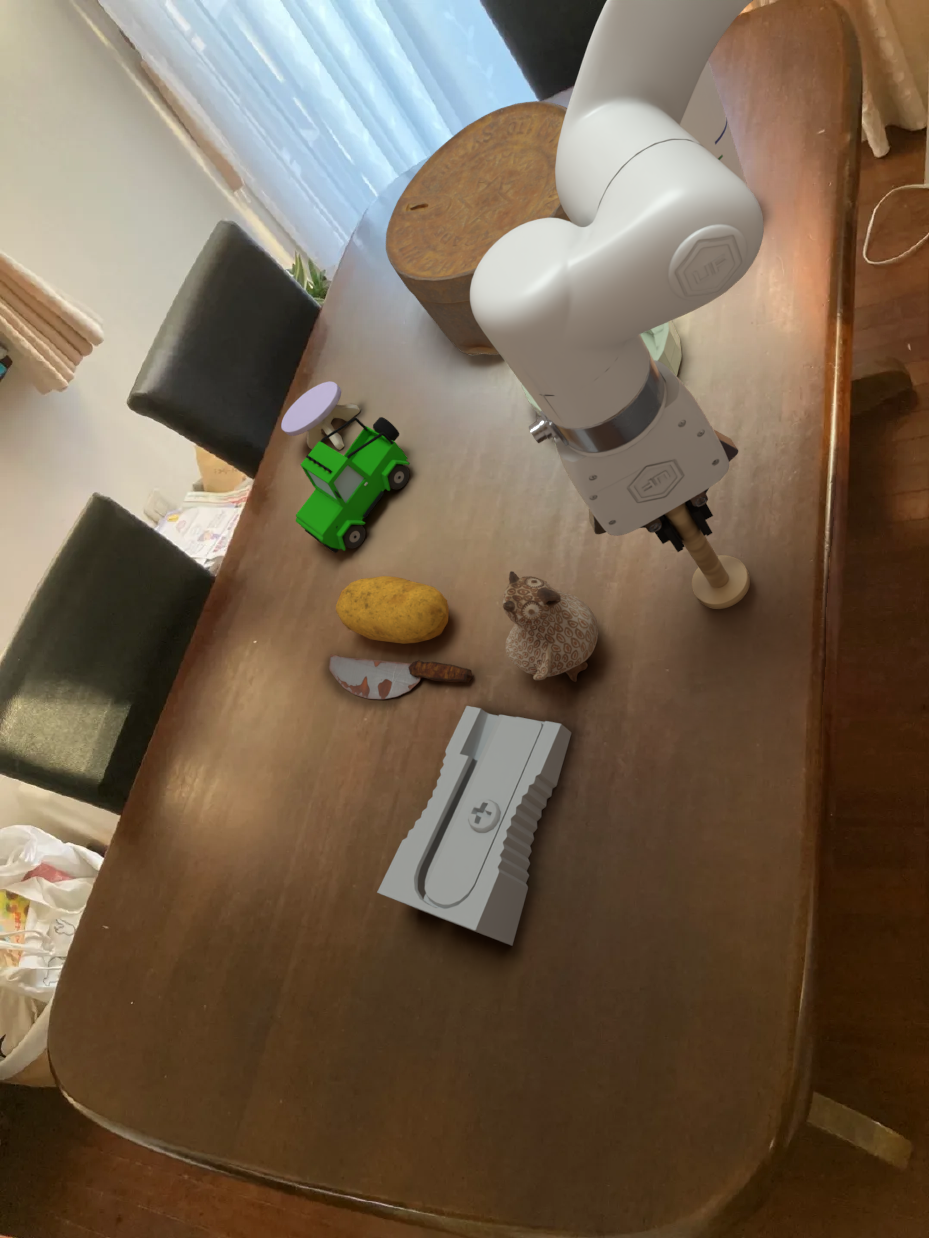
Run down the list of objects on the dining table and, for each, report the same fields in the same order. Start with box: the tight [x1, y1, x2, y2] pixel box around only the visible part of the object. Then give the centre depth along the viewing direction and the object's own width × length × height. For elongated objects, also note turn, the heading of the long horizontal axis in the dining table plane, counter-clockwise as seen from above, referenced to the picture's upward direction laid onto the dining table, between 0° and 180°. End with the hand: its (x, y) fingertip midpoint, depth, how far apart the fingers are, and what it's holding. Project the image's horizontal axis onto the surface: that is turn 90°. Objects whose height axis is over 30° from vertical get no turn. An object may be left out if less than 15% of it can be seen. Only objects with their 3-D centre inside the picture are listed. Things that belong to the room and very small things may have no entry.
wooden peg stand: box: [665, 502, 751, 610], centre depth 69 cm, size 5×5×15 cm
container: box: [385, 100, 572, 356], centre depth 103 cm, size 28×28×15 cm
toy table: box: [280, 381, 361, 451], centre depth 114 cm, size 10×9×6 cm
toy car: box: [295, 416, 410, 554], centre depth 103 cm, size 8×17×10 cm, turn 136°
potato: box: [335, 575, 450, 645], centre depth 92 cm, size 7×14×7 cm, turn 68°
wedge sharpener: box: [376, 705, 572, 947], centre depth 76 cm, size 11×20×7 cm, turn 159°
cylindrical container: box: [680, 58, 749, 187], centre depth 84 cm, size 7×7×25 cm
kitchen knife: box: [328, 653, 474, 700], centre depth 92 cm, size 21×2×5 cm
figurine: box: [502, 570, 599, 683], centre depth 76 cm, size 9×10×15 cm
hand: (687, 529), depth 68 cm, fingers closed on wooden peg stand
